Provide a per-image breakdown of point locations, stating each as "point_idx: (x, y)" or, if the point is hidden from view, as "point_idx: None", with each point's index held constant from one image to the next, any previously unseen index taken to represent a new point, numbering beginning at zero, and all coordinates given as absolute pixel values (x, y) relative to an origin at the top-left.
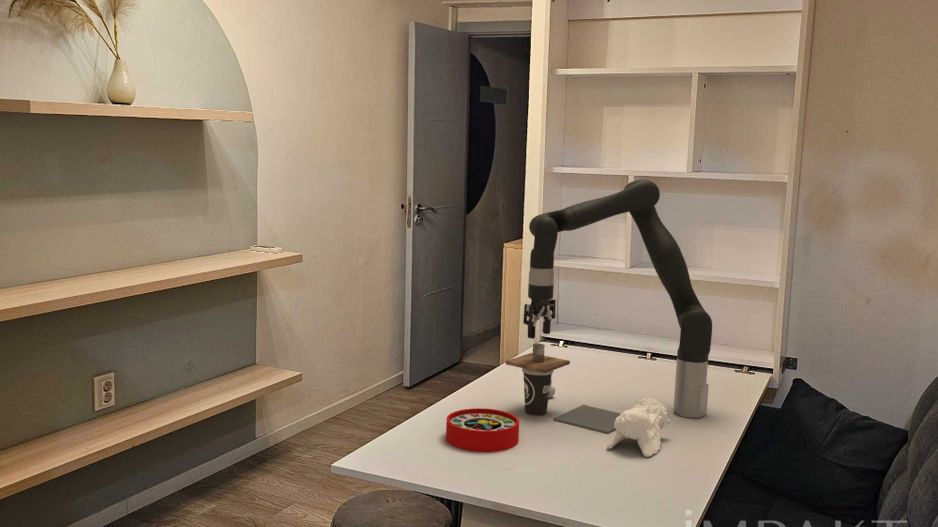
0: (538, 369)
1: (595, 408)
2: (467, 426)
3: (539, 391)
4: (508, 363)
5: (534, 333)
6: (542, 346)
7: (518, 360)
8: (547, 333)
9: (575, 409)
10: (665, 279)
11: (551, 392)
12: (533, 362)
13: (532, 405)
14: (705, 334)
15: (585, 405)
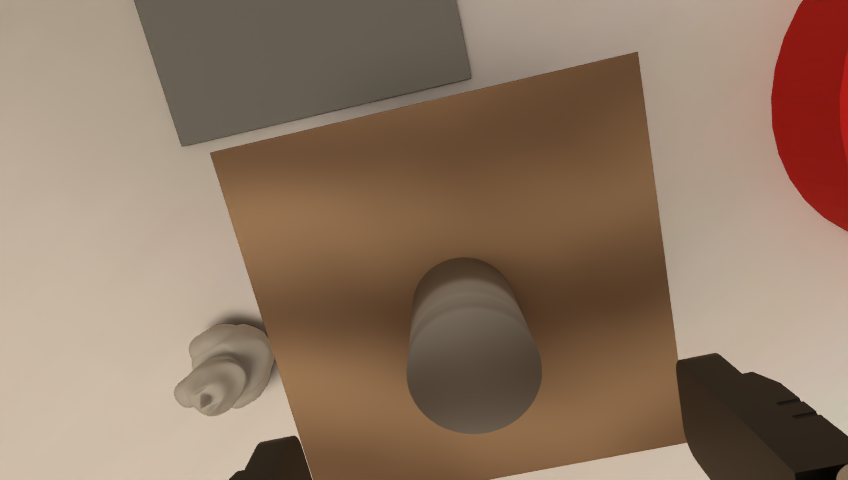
0: (643, 130)
1: (169, 63)
2: None
3: None
4: (679, 411)
5: (742, 386)
6: (481, 309)
7: (588, 404)
8: (301, 451)
9: (273, 113)
10: None
11: (231, 329)
12: (535, 292)
13: None
14: None
15: (181, 129)
